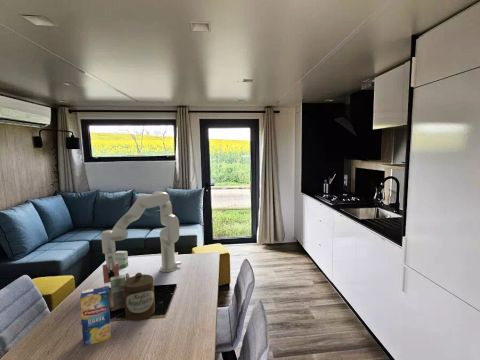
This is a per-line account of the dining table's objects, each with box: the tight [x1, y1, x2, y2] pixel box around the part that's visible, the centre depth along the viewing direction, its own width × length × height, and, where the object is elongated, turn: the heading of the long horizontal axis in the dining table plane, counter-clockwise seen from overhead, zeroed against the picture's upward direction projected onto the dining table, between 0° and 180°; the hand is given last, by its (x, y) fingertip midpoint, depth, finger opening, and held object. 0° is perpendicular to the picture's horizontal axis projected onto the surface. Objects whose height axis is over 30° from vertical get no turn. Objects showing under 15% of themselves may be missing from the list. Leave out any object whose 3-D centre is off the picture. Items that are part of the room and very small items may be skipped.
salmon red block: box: [101, 262, 120, 285], centre depth 169 cm, size 9×4×11 cm, turn 120°
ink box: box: [114, 250, 129, 269], centre depth 202 cm, size 9×5×12 cm, turn 84°
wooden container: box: [124, 272, 156, 322], centre depth 138 cm, size 15×15×22 cm
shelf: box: [109, 272, 130, 312], centre depth 153 cm, size 12×23×11 cm, turn 30°
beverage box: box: [79, 285, 112, 347], centre depth 118 cm, size 7×11×22 cm, turn 117°
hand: (111, 276), depth 169 cm, fingers closed on salmon red block, 4 cm apart
